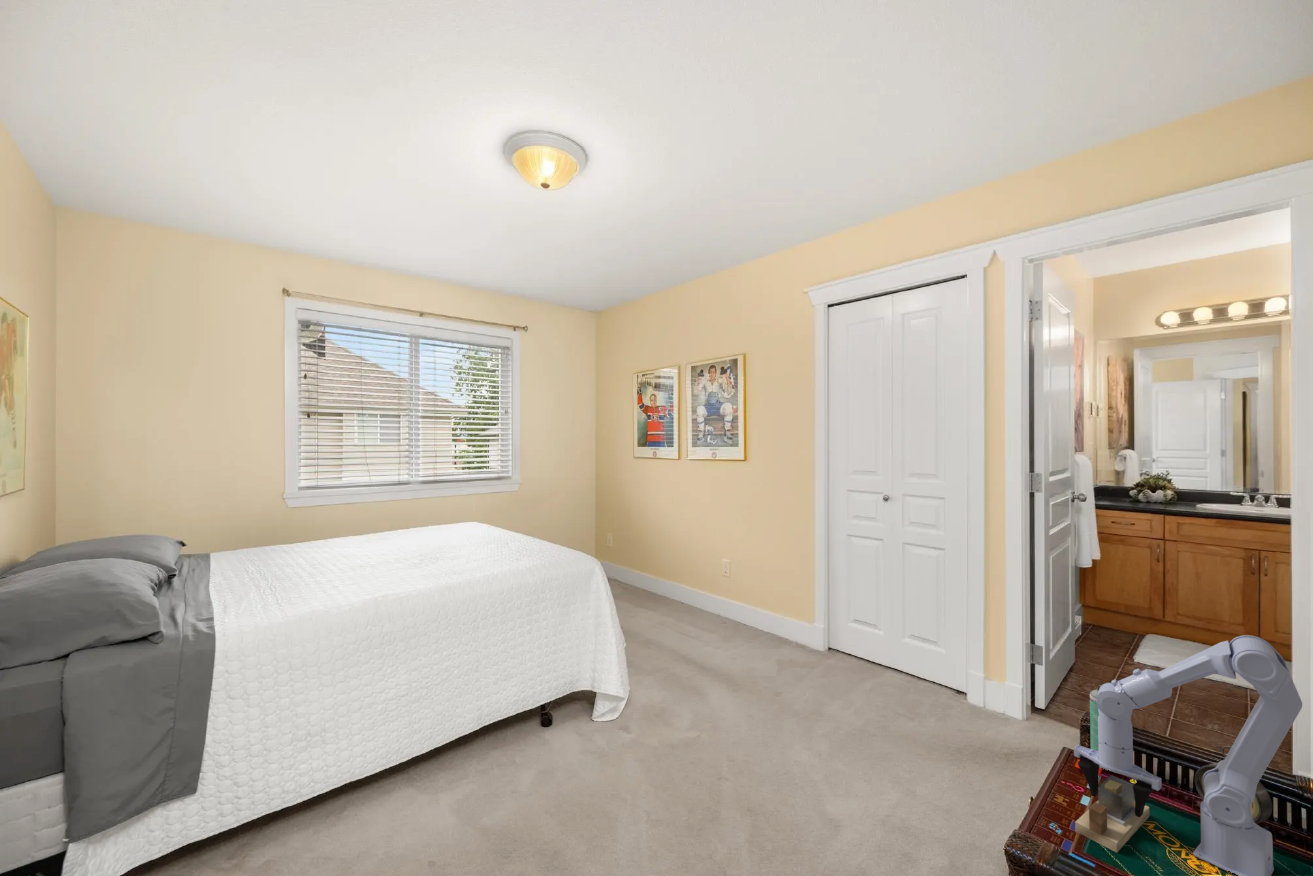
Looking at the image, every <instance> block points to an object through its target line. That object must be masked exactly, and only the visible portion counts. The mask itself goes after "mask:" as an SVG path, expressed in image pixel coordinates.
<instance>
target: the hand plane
mask: <svg viewBox="0 0 1313 876" xmlns="http://www.w3.org/2000/svg"><path fill="white" fill-rule="evenodd" d="M1149 818H1150V807H1149V806H1148V805H1145V807H1144V811H1143V815H1142V816H1141V817H1137V816H1135V800H1134V808H1133V809H1132V810H1131V811H1130V813H1129V814H1128V815H1127V816H1126V817H1125V818H1124V819H1123V820H1120V819H1117V818H1115V817H1113V816H1111V815H1109V814H1107V807H1105V806H1103V805H1100V804H1098V800H1097V801H1095V802H1094V803H1092V804H1091V805H1090V806H1089V807H1088V809H1087V810H1086V811H1085V812H1084V813H1083V814H1082V815H1081V816H1079V818H1078V819H1077V820H1075V823H1074V826H1075V827H1074V830H1075V832H1076V833H1078V834H1080V835H1082V836H1083V837H1086V838H1087V839H1089V840H1092V841H1094V842H1096V843H1097V844H1099V845H1102V846H1103V847H1104V848H1107V849H1109V850H1110V851H1113V852H1115V853H1119V851H1120V850H1121V849H1122V848H1123V847H1124V845H1125V844H1126V843H1127V842H1129V840H1130V839H1131V838H1132V837H1133V835H1134V834H1136V833H1137V831H1138V830H1139V829H1140V828H1141V826H1142V825H1143V824H1144V823H1145V822H1146V821H1147V820H1148V819H1149Z"/></svg>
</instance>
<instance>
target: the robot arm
mask: <svg viewBox="0 0 1313 876" xmlns="http://www.w3.org/2000/svg"><path fill="white" fill-rule="evenodd" d="M1236 673H1237V674H1238V676H1240V677H1241V678H1242V679H1243V680H1245V681H1246V682H1248V684H1250V685H1252V686H1253V688H1254V689H1255V690H1256V692H1257V693H1258V695H1259V697H1258V699H1257V701H1256V702H1255V704H1254V707H1252V710H1251V711H1250V714H1249V715H1248V716H1247V718H1246V721H1245V722H1244V724H1243V725H1242V728H1241V730H1240V731H1239V733H1238V735H1237V736H1236V738H1235V740H1234V742H1233V744H1232V745H1231V746H1230V747H1231V748H1229V751H1228V752H1227V754H1226V755H1225V756H1226V757H1224V759H1223V760H1220V761H1219V762H1217V763H1218V765H1217V766H1216V767H1215V768H1214V769H1212V770H1209V771H1207V772H1206V773H1205V774H1204V775H1203V784H1204V791H1205V797H1204V800H1202V801H1201V802H1200V803H1199V804H1200V843H1199V844H1198V845H1197V846H1196V848H1195V850H1194V851H1193V856H1195V857H1196V858H1198V859H1201V860H1203V861H1205V862H1206V863H1209V864H1212V865H1214V866H1216V867H1217V868H1219V869H1222V870H1224V871H1225V872H1228V871H1230V872H1231V873H1230V872H1229V873H1230V874H1232V873H1235V874H1236V875H1240V876H1272V874H1273V872H1274V870H1275V868H1274V861H1273V860H1274V849H1273V848H1274V846H1273V843H1274V842H1273V834H1272V832H1270V831H1269V830H1267V829H1265V828H1264V827H1261V826H1260V825H1258V823H1257V824H1256V823H1254V820H1253V818H1252V811H1251V805H1252V803H1253V801H1254V798H1255V793H1256V788H1257V784H1258V782H1260V780H1261V778H1262V776H1263V775H1264V774H1265V772H1266V770H1267V768H1268V766H1269V764H1270V763H1271V761H1272V760H1273V758H1274V756H1275V754H1276V753H1277V751H1278V749H1279V747H1280V746H1281V745H1282V743H1283V741H1284V739H1285V737H1286V736H1287V734H1288V732H1289V731H1290V729H1291V727H1292V726H1293V724H1294V722H1295V721H1296V719H1297V717H1298V715H1299V714H1300V712H1301V710H1302V708H1303V701H1302V699H1301V697H1300V695H1299V691H1298V690H1297V686H1296V684H1295V683H1294V679H1293V677H1292V675H1291V674H1290V671H1289V669H1288V667H1287V664H1286V661H1285V659H1284V658H1283V656H1281V654H1280V653H1279V652H1278V651H1277V649H1276V648H1274V646H1272V644H1270V643H1269V642H1268V641H1267V640H1265V639H1264V638H1260V637H1258V636H1254V635H1248V634H1247V635H1239V636H1236V637H1234V638H1232V640H1230V642H1229V640H1225V641H1221V642H1219V643H1216V644H1214V645H1211V647H1209V648H1205V649H1204V650H1202V651H1199V652H1198V653H1196V654H1193V655H1192V656H1189V657H1187V658H1184V659H1182V660H1181V661H1179V662H1176V663H1174V664H1172V665H1171V666H1168V667H1165V668H1163V669H1162V670H1160V671H1159V670H1158V671H1157V670H1154V669H1149V668H1145V669H1143V670H1141V669H1140V668H1136V669H1134V670H1132V674H1131V675H1129V676H1127V677H1124V678H1122V679H1120V680H1117V679H1112V680H1111V682H1106V683H1103V685H1102V686H1101V687H1100V688H1099V691H1098V695H1097V698H1096V702H1097V706H1098V708H1099V709H1098V713H1099V716H1098V749H1099V751H1096V750H1093V749H1091V748H1088V747H1085V746H1082V745H1079V744H1077V745H1076V746H1074V747H1073V756H1074V757H1076V758H1078V759H1079V761H1077V765H1078V768H1079V769H1080V770H1081V772H1082V775H1083V776H1084V777H1085V780H1086V782H1087V785H1088V788H1089V791H1090V795H1091V796H1092V797H1094V798H1095V797H1097V796H1098V786H1099V785H1100V782H1099V775H1100V774H1099V773H1100V772H1099V771H1100V768H1099V765H1100V766H1102V767H1104V768H1105V769H1107V770H1106V771H1108V770H1110V771H1109V772H1113V773H1115V774H1119V775H1122V776H1125V777H1127V778H1130V779H1133V780H1135V781H1137V782H1135V783H1133V784H1134V785H1133V791H1134V801H1135V816H1137V817H1141V816H1142V815H1143V811H1144V807H1145V806H1146V803H1147V801H1148V799H1149V797H1150V796H1151V794H1152V792H1153V791H1154V790H1155V791H1157V792H1159V791H1160V790H1161V789H1162V785H1163V784H1162V778H1161V777H1159V776H1157V775H1155V774H1152V773H1151V772H1148V771H1147V770H1146V769H1143V768H1141V767H1140V766H1138V765H1137V764H1134V745H1133V743H1134V741H1133V738H1134V737H1133V736H1134V735H1133V724H1132V722H1131V721H1132V720H1131V719H1132V714H1133V711H1134V710H1137V709H1139V710H1140V709H1142V708H1145V707H1147V706H1149V705H1152V704H1155V703H1158V702H1160V701H1163V700H1166V699H1168V698H1171V697H1172V694H1173V692H1172V691H1173V688H1176V687H1180V686H1182V685H1184V684H1188V683H1191V682H1194V681H1197V680H1200V679H1202V678H1206V677H1210V676H1212V675H1219V676H1222V677H1226V678H1230V679H1233V680H1236V679H1237V676H1236ZM1236 875H1235V876H1236Z"/></svg>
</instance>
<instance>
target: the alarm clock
mask: <svg viewBox="0 0 1313 876" xmlns="http://www.w3.org/2000/svg"><path fill="white" fill-rule="evenodd" d="M1231 747H1232V746H1230V745H1225V746H1223V747H1221V748H1222V749H1221V753H1222V755H1223V756H1224V758H1226V756H1227V755H1225V751H1224V750H1225V749H1227V748H1228V749H1231ZM1218 763H1219V762H1214V763H1210V764H1205V765H1202V766H1201V767H1199V768H1197V770H1196V772H1195V774H1194V784H1195V785H1194V786H1195V787H1196V791H1197V792H1198V795H1199V796H1200V799H1202V801H1203V800H1204V797H1205V791H1204V784H1203V775H1204V774H1205V773H1206V772H1207V771H1209V770H1212V769H1214V768H1215V767H1216V766H1217V765H1218ZM1251 811H1252V818H1253V820H1254V823H1256V824H1257V825H1258V824H1260V823H1262V822H1265V821H1267V820H1268V819H1270V817H1271V815H1272V813H1273V802H1272V799H1271V796H1270V794H1269V793H1268V791H1267V789H1266V787H1265V786H1264V785H1263V784H1262V783H1261V781H1259V782H1258V784H1257V788H1256V793H1255V798H1254V801H1253V803H1252V805H1251Z"/></svg>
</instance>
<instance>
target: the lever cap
mask: <svg viewBox="0 0 1313 876" xmlns="http://www.w3.org/2000/svg"><path fill="white" fill-rule="evenodd" d="M1134 784H1135V783H1132V782H1129V781H1127V780H1124V779H1122V778H1119V777H1117V776H1114V775H1112V774H1110V775H1109V776H1108V777H1107V778H1106V779H1105V780H1104V781H1103V782H1101V783H1099V786H1098V794H1097V796H1098V797H1097V798H1098V799H1097V801H1098V804H1100V805H1103V806H1105V807H1107V814H1109V815H1111V816H1113V817H1115V818H1117V819H1120V820H1123V819H1124V818H1125V817H1126V816H1127V815H1128V814H1129V813H1130V811H1131V810H1132V809H1133V808H1134V801H1135V796H1134V791H1133V785H1134Z"/></svg>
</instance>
